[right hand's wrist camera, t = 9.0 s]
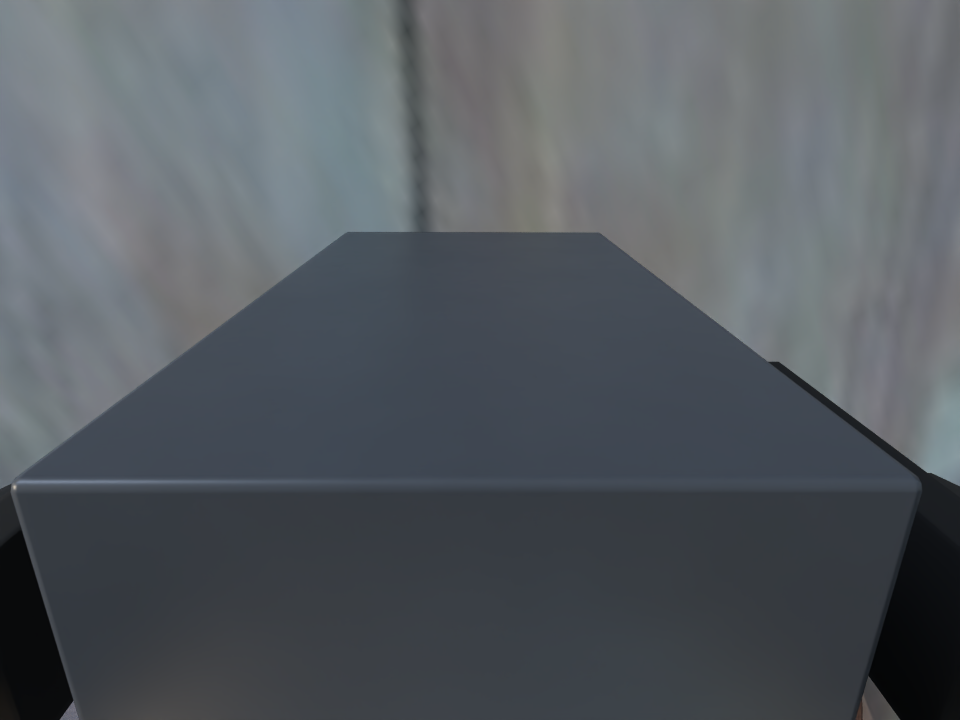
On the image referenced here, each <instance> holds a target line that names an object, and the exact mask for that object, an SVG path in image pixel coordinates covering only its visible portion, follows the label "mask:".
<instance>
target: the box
mask: <svg viewBox="0 0 960 720" xmlns="http://www.w3.org/2000/svg"><path fill="white" fill-rule="evenodd" d="M921 494H922V484H921V481H920V480H919V478H918V477H917V476H916V475H915V474H914V473H912V472H911V471H910V470H908V469H907V468H906V467H904V466H903V465H902V464H900V463H899V462H898V461H897V460H895V459H894V458H893V457H891V456H890V455H889V454H887V453H886V452H885V451H884V450H882V449H881V448H880V447H878V446H877V445H876V444H874V443H873V442H872V441H870V440H869V439H868V438H867V437H865V436H864V435H863V434H861V433H860V432H859V431H857V430H856V429H855V428H853V427H852V426H851V425H850V424H848V423H847V422H846V421H844V420H843V419H842V418H840V417H839V416H838V415H837V414H835V413H834V412H833V411H831V410H830V409H829V408H827V407H826V406H825V405H823V404H822V403H821V402H820V401H818V400H817V399H816V398H814V397H813V396H812V395H810V394H809V393H808V392H806V391H805V390H804V389H803V388H801V387H800V386H799V385H797V384H796V383H795V382H793V381H792V380H791V379H790V378H788V377H787V376H786V375H784V374H783V373H782V372H780V371H779V370H778V369H776V368H775V367H774V366H773V365H771V364H770V363H769V362H767V361H766V360H765V359H763V358H762V357H761V356H760V355H758V354H757V353H756V352H754V351H753V350H752V349H750V348H749V347H748V346H746V345H745V344H744V343H743V342H741V341H740V340H739V339H737V338H736V337H735V336H733V335H732V334H731V333H729V332H728V331H727V330H726V329H724V328H723V327H722V326H720V325H719V324H718V323H716V322H715V321H714V320H713V319H711V318H710V317H709V316H707V315H706V314H705V313H703V312H702V311H701V310H699V309H698V308H697V307H696V306H694V305H693V304H692V303H690V302H689V301H688V300H686V299H685V298H684V297H682V296H681V295H680V294H679V293H677V292H676V291H675V290H673V289H672V288H671V287H669V286H668V285H667V284H666V283H664V282H663V281H662V280H660V279H659V278H658V277H656V276H655V275H654V274H652V273H651V272H650V271H649V270H647V269H646V268H645V267H643V266H642V265H641V264H639V263H638V262H637V261H635V260H634V259H633V258H632V257H630V256H629V255H628V254H626V253H625V252H624V251H622V250H621V249H620V248H619V247H617V246H616V245H615V244H613V243H612V242H611V241H609V240H608V239H607V238H605V237H604V236H603V235H602V234H600V233H521V232H347V233H345V234H344V235H342V236H341V237H340V238H338V239H337V240H336V241H334V242H333V243H332V244H330V245H329V246H327V247H326V248H325V249H323V250H322V251H321V252H319V253H318V254H317V255H315V256H314V257H313V258H311V259H310V260H309V261H307V262H306V263H305V264H303V265H302V266H301V267H299V268H298V269H296V270H295V271H294V272H292V273H291V274H290V275H288V276H287V277H286V278H284V279H283V280H282V281H280V282H279V283H278V284H276V285H275V286H274V287H272V288H271V289H269V290H268V291H267V292H265V293H264V294H263V295H261V296H260V297H259V298H257V299H256V300H255V301H253V302H252V303H251V304H249V305H248V306H247V307H245V308H244V309H243V310H241V311H240V312H238V313H237V314H236V315H234V316H233V317H232V318H230V319H229V320H228V321H226V322H225V323H224V324H222V325H221V326H220V327H218V328H217V329H216V330H214V331H213V332H211V333H210V334H209V335H207V336H206V337H205V338H203V339H202V340H201V341H199V342H198V343H197V344H195V345H194V346H193V347H191V348H190V349H189V350H187V351H186V352H185V353H183V354H182V355H180V356H179V357H178V358H176V359H175V360H174V361H172V362H171V363H170V364H168V365H167V366H166V367H164V368H163V369H162V370H160V371H159V372H158V373H156V374H155V375H153V376H152V377H151V378H149V379H148V380H147V381H145V382H144V383H143V384H141V385H140V386H139V387H137V388H136V389H135V390H133V391H132V392H131V393H129V394H128V395H126V396H125V397H124V398H122V399H121V400H120V401H118V402H117V403H116V404H114V405H113V406H112V407H110V408H109V409H108V410H106V411H105V412H104V413H102V414H101V415H100V416H98V417H97V418H95V419H94V420H93V421H91V422H90V423H89V424H87V425H86V426H85V427H83V428H82V429H81V430H79V431H78V432H77V433H75V434H74V435H73V436H71V437H70V438H68V439H67V440H66V441H64V442H63V443H62V444H60V445H59V446H58V447H56V448H55V449H54V450H52V451H51V452H50V453H48V454H47V455H46V456H44V457H43V458H42V459H40V460H39V461H37V462H36V463H35V464H33V465H32V466H31V467H29V468H28V469H27V470H25V471H24V472H23V473H21V474H20V475H19V476H17V477H16V478H15V479H14V481H13V483H12V485H11V495H12V499H13V502H14V505H15V509H16V512H17V515H18V519H19V522H20V525H21V528H22V532H23V535H24V538H25V542H26V545H27V548H28V552H29V555H30V558H31V562H32V565H33V568H34V571H35V575H36V578H37V581H38V585H39V588H40V591H41V595H42V598H43V601H44V604H45V608H46V611H47V614H48V618H49V621H50V624H51V628H52V631H53V634H54V637H55V641H56V644H57V647H58V651H59V654H60V657H61V661H62V664H63V667H64V671H65V674H66V677H67V680H68V684H69V687H70V690H71V694H72V697H73V700H74V704H75V707H76V710H77V713H78V717H79V720H855V719H856V716H857V713H858V709H859V706H860V702H861V699H862V695H863V692H864V689H865V685H866V682H867V678H868V675H869V672H870V668H871V665H872V661H873V658H874V654H875V651H876V648H877V644H878V641H879V637H880V634H881V631H882V627H883V624H884V620H885V617H886V613H887V610H888V607H889V603H890V600H891V596H892V593H893V590H894V586H895V583H896V579H897V576H898V573H899V569H900V566H901V562H902V559H903V555H904V552H905V549H906V545H907V542H908V538H909V535H910V532H911V528H912V525H913V521H914V518H915V514H916V511H917V508H918V504H919V501H920V497H921Z"/></svg>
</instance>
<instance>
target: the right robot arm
mask: <svg viewBox="0 0 960 720" xmlns="http://www.w3.org/2000/svg"><path fill="white" fill-rule="evenodd" d="M769 363H770V364H771V365H773V366H774V367H775V368H776V369H778V370H779V371H780V372H782V373H783V374H784V375H786V376H787V377H788V378H790V379H791V380H792V381H793V382H795V383H796V384H797V385H799V386H800V387H801V388H803V389H804V390H805V391H806V392H808V393H809V394H810V395H812V396H813V397H814V398H816V399H817V400H818V401H820V402H821V403H822V404H823V405H825V406H826V407H827V408H829V409H830V410H831V411H833V412H834V413H835V414H837V415H838V416H839V417H840V418H842V419H843V420H844V421H846V422H847V423H848V424H850V425H851V426H852V427H853V428H855V429H856V430H857V431H859V432H860V433H861V434H863V435H864V436H865V437H867V438H868V439H869V440H870V441H872V442H873V443H874V444H876V445H877V446H878V447H880V448H881V449H882V450H884V451H885V452H886V453H887V454H889V455H890V456H891V457H893V458H894V459H895V460H897V461H898V462H899V463H900V464H902V465H903V466H904V467H906V468H907V469H908V470H910V471H911V472H912V473H914V474H915V475H916V476H917V477H918V478H919V480H920V481H921V484H922V494H921V497H920V501H919V504H918V508H917V511H916V514H915V518H914V521H913V525H912V528H911V532H910V535H909V538H908V542H907V545H906V549H905V552H904V555H903V559H902V562H901V566H900V569H899V573H898V576H897V579H896V583H895V586H894V590H893V593H892V596H891V600H890V603H889V607H888V610H887V613H886V617H885V620H884V624H883V627H882V631H881V634H880V637H879V641H878V644H877V648H876V651H875V654H874V658H873V661H872V665H871V668H870V672H869V675H868V676H869V677H870V678H871V680H872V681H873V682H874V684H875V685H876V687H877V688H878V689H879V691H880V692H881V694H882V695H883V696H884V698H885V699H886V700H887V702H888V703H889V705H890V706H891V707H892V709H893V710H894V711H895V713H896V714H897V716H898V717H899V718H900V720H960V486H958V485H955V484H953V483H951V482H949V481H947V480H945V479H943V478H941V477H938V476H936V475H934V474H932V473H927V472H925V471H924V470H923V469H921V468H920V467H919V466H917V465H916V464H915V463H913V462H912V461H911V460H909V459H908V458H907V457H905V456H904V455H903V454H901V453H900V452H899V451H897V450H896V449H895V448H893V447H892V446H891V445H889V444H888V443H887V442H885V441H884V440H883V439H881V438H880V437H879V436H877V435H876V434H875V433H873V432H872V431H871V430H869V429H868V428H866V427H865V426H864V425H862V424H861V423H860V422H858V421H857V420H856V419H854V418H853V417H852V416H850V415H849V414H848V413H846V412H845V411H844V410H842V409H841V408H840V407H838V406H837V405H836V404H834V403H833V402H832V401H830V400H829V399H828V398H826V397H825V396H824V395H822V394H821V393H820V392H818V391H817V390H816V389H814V388H813V387H812V386H810V385H809V384H808V383H806V382H805V381H804V380H802V379H801V378H800V377H798V376H797V375H796V374H794V373H793V372H792V371H790V370H789V369H788V368H786V367H785V366H784V365H782V364H781V363H780V362H769ZM11 485H12V484H10V485H8V486H6V487H4V488H2V489H0V720H60V718H61V717H62V716H63V714H64V713H65V711H66V710H67V709H68V707H69V706H70V705H71V703H72V702H73V697H72V694H71V690H70V687H69V684H68V680H67V677H66V674H65V671H64V667H63V664H62V661H61V657H60V654H59V651H58V647H57V644H56V641H55V637H54V634H53V631H52V628H51V624H50V621H49V618H48V614H47V611H46V608H45V604H44V601H43V598H42V595H41V591H40V588H39V585H38V581H37V578H36V575H35V571H34V568H33V565H32V562H31V558H30V555H29V552H28V548H27V545H26V542H25V538H24V535H23V532H22V528H21V525H20V522H19V519H18V515H17V512H16V509H15V505H14V502H13V499H12V495H11Z"/></svg>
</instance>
